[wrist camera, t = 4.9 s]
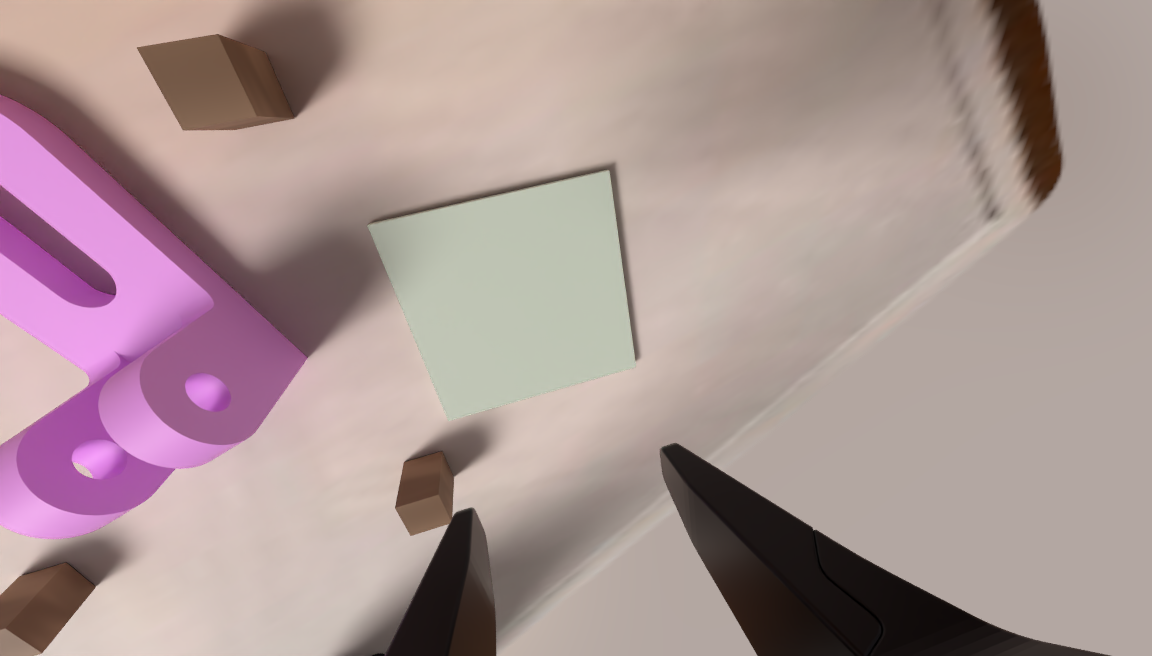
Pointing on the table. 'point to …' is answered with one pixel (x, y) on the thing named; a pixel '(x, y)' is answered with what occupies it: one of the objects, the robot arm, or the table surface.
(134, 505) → the bracket
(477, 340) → the felt pad
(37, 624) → the tiny cardboard boxes
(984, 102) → the table surface
